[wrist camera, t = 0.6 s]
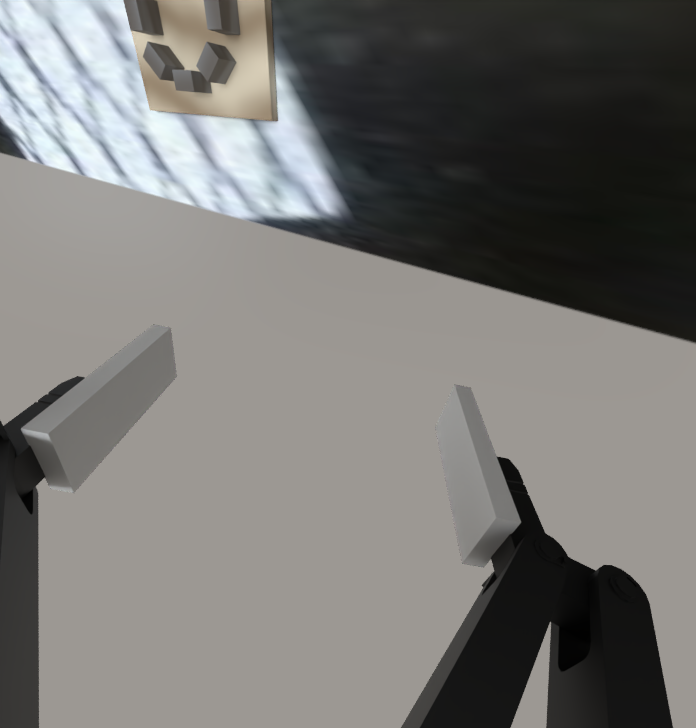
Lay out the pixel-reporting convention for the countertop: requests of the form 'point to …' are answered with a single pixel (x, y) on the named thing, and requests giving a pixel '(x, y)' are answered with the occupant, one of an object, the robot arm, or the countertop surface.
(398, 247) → the countertop surface
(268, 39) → the collar plate
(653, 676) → the robot arm
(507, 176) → the countertop surface
